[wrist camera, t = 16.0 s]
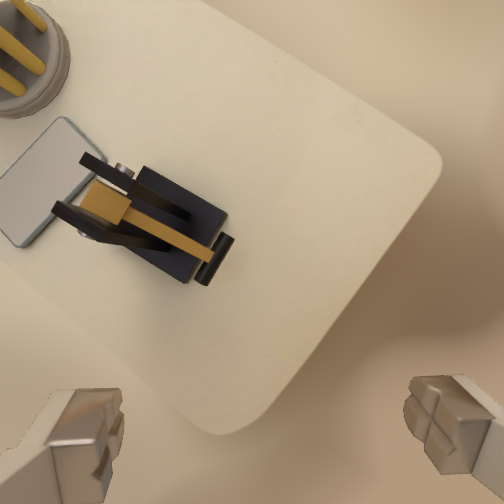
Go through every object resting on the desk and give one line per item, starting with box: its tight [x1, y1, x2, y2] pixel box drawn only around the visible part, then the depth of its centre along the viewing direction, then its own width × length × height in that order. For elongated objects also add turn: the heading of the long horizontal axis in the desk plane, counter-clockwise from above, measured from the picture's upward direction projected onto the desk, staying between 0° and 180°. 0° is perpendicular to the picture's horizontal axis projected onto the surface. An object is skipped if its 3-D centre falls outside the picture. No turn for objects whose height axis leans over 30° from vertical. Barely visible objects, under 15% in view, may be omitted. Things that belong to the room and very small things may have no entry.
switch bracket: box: [50, 151, 228, 284], centre depth 28 cm, size 11×9×14 cm
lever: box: [80, 179, 235, 286], centre depth 26 cm, size 12×5×2 cm
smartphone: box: [0, 117, 106, 248], centre depth 37 cm, size 8×1×15 cm
